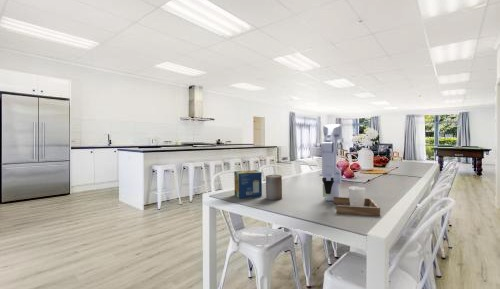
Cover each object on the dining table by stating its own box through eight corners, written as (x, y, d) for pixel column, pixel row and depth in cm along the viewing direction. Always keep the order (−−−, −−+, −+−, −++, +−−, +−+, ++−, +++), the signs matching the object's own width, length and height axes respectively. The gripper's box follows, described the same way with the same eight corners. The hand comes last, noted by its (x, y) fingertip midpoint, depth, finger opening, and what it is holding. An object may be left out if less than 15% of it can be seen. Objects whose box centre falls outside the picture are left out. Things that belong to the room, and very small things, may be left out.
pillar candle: (281, 196, 155) (281, 172, 155) (282, 200, 146) (281, 174, 145) (266, 196, 156) (265, 172, 156) (265, 200, 146) (265, 174, 146)
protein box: (234, 195, 161) (233, 171, 160) (256, 193, 165) (256, 170, 165) (238, 198, 151) (238, 173, 150) (262, 196, 155) (262, 171, 155)
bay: (333, 203, 138) (333, 196, 138) (370, 204, 133) (370, 198, 133) (336, 213, 120) (336, 205, 120) (380, 215, 115) (380, 208, 115)
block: (322, 195, 129) (322, 183, 129) (330, 195, 128) (330, 183, 127) (323, 196, 125) (322, 184, 125) (331, 197, 124) (331, 185, 124)
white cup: (362, 205, 133) (362, 186, 133) (367, 209, 125) (367, 189, 125) (347, 204, 134) (346, 186, 134) (351, 209, 126) (351, 189, 126)
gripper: (319, 164, 134) (319, 189, 134) (319, 167, 120) (319, 195, 120) (333, 164, 132) (333, 190, 132) (335, 167, 118) (335, 196, 118)
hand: (328, 192), depth 126 cm, fingers closed on block, 4 cm apart
